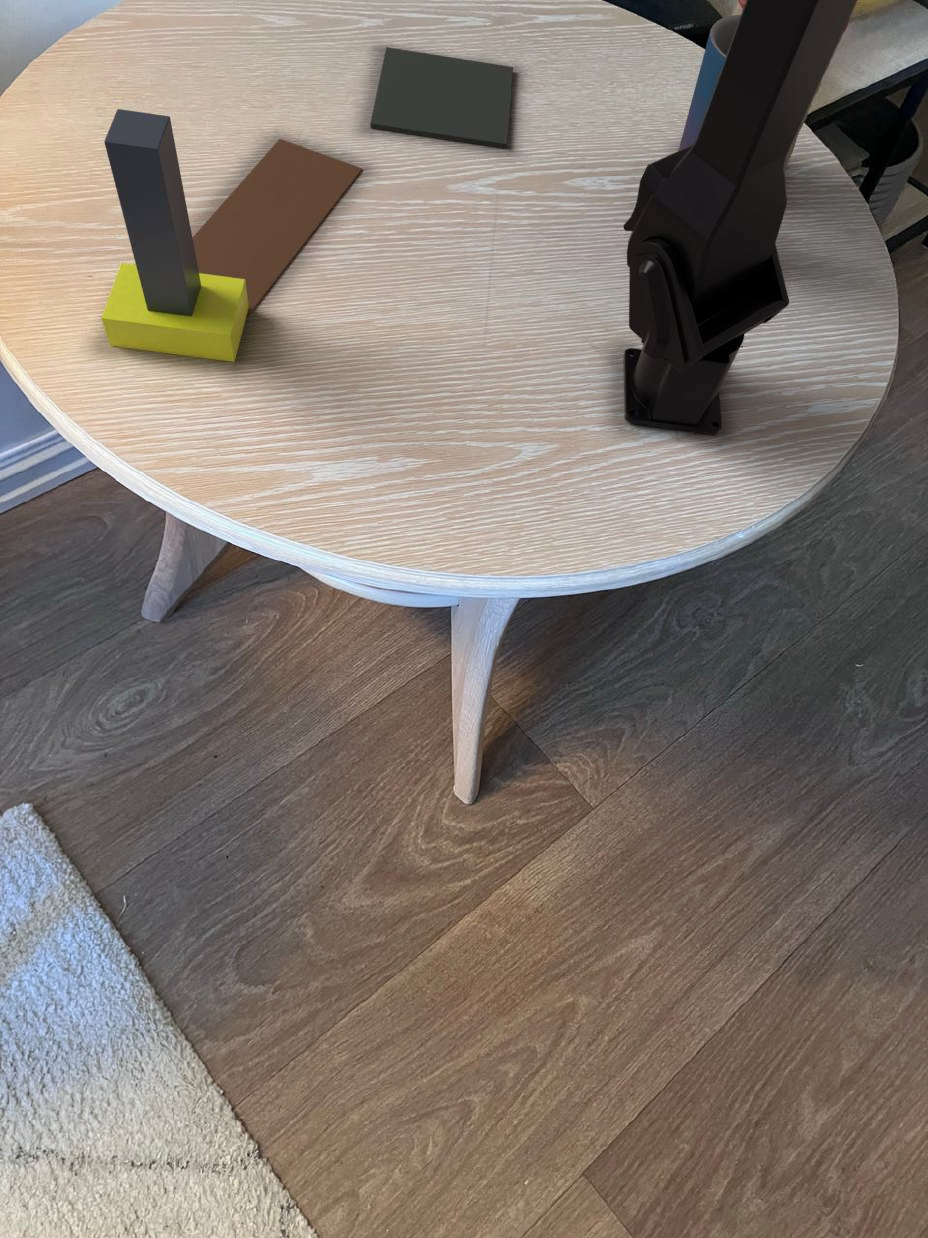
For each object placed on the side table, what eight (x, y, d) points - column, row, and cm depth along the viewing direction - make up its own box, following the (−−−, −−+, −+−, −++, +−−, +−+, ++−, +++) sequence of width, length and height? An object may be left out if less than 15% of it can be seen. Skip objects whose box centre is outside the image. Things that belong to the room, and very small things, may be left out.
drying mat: (506, 148, 75) (507, 143, 75) (370, 127, 74) (370, 123, 74) (512, 71, 81) (513, 66, 80) (386, 51, 80) (386, 46, 80)
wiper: (234, 362, 60) (203, 169, 48) (109, 345, 60) (46, 147, 48) (249, 306, 63) (223, 109, 51) (129, 291, 62) (73, 88, 50)
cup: (728, 222, 74) (810, 23, 61) (732, 280, 70) (820, 83, 57) (643, 208, 73) (708, 5, 60) (643, 266, 70) (712, 64, 57)
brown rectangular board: (249, 316, 63) (248, 313, 63) (156, 280, 63) (155, 278, 63) (362, 170, 72) (362, 167, 72) (279, 140, 72) (279, 138, 72)
